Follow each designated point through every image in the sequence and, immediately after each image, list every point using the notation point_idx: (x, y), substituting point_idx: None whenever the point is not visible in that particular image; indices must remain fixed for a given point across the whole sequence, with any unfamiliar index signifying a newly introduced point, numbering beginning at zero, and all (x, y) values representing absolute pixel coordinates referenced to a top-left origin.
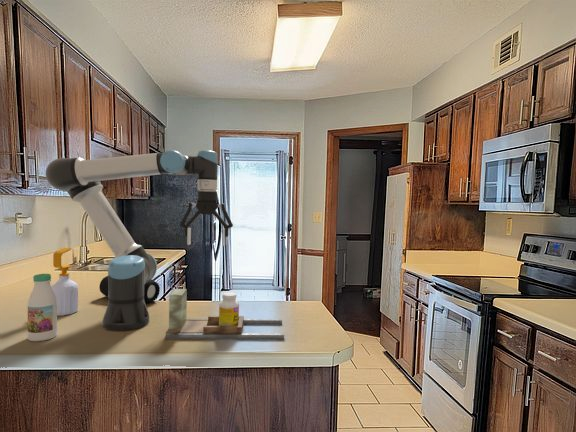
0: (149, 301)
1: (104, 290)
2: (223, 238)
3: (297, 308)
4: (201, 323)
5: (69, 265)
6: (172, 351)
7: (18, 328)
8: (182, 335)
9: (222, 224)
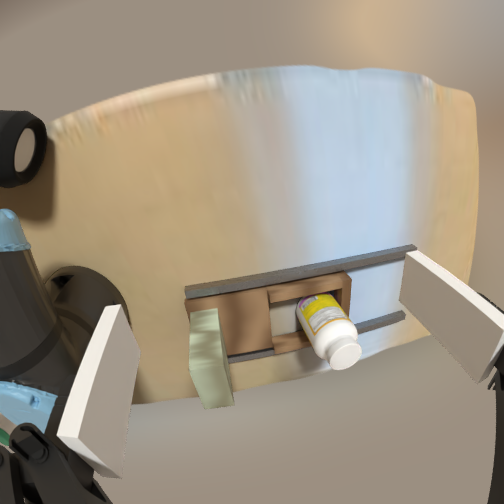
0: (40, 161)
1: None
2: (434, 330)
3: (445, 140)
4: (255, 308)
5: None
6: (238, 388)
7: None
8: (236, 360)
9: (499, 413)
